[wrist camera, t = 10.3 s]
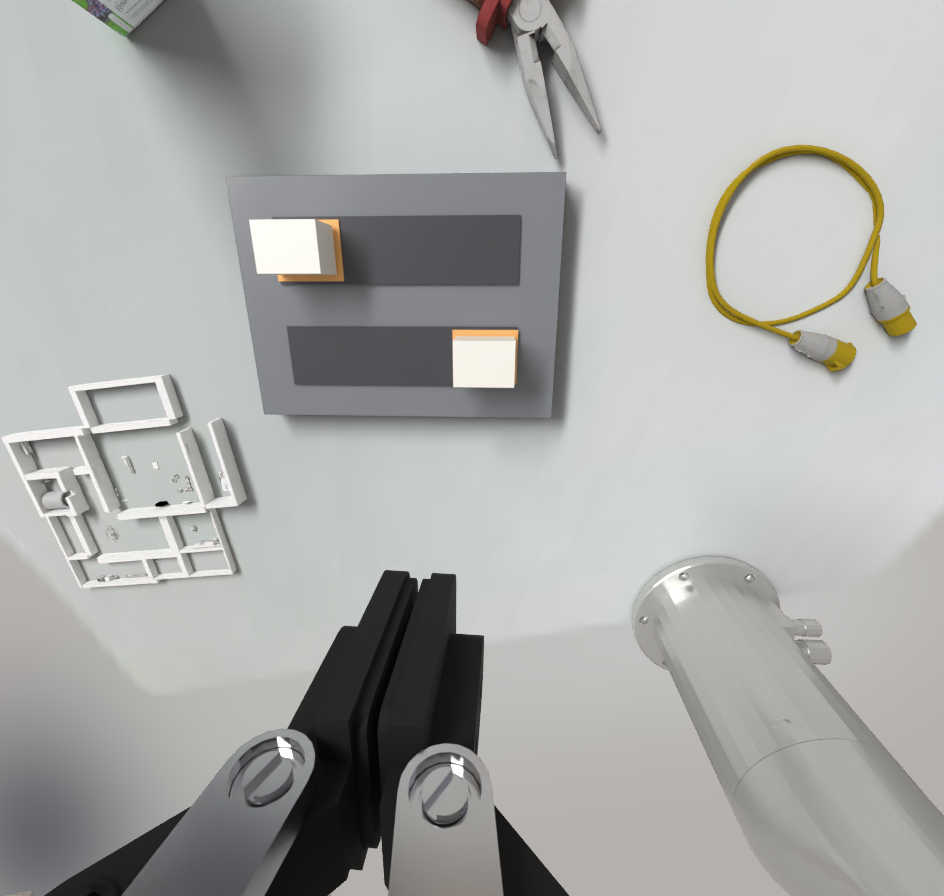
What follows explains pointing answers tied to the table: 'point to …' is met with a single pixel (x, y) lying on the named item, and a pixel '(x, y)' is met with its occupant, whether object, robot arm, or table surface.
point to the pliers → (530, 22)
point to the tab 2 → (484, 361)
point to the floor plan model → (54, 506)
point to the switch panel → (405, 291)
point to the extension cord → (880, 293)
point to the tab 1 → (293, 247)
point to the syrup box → (120, 12)
